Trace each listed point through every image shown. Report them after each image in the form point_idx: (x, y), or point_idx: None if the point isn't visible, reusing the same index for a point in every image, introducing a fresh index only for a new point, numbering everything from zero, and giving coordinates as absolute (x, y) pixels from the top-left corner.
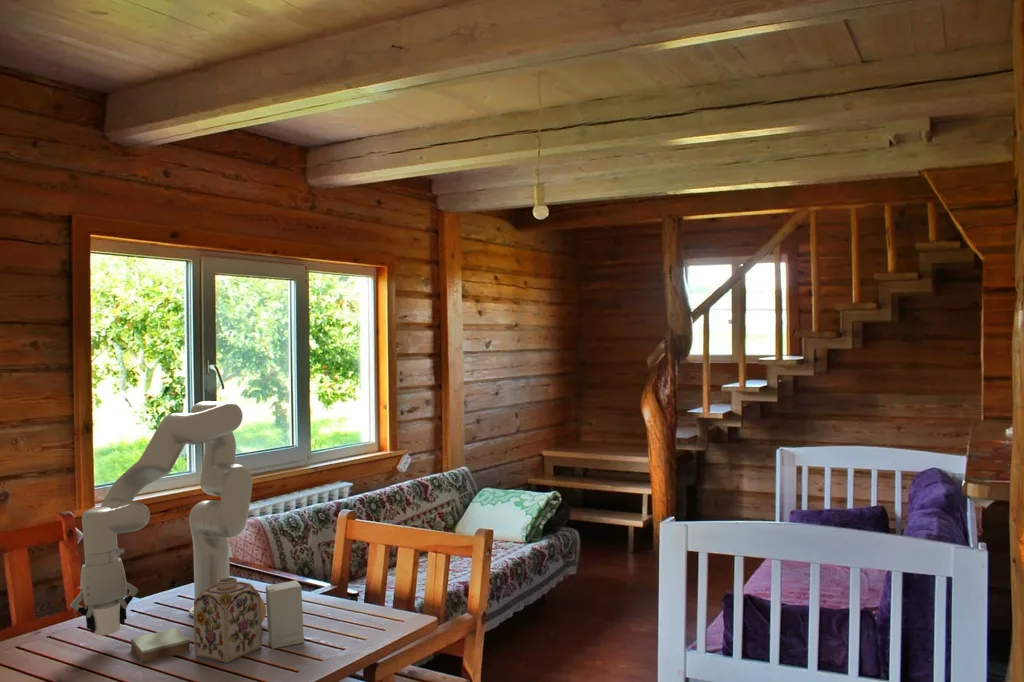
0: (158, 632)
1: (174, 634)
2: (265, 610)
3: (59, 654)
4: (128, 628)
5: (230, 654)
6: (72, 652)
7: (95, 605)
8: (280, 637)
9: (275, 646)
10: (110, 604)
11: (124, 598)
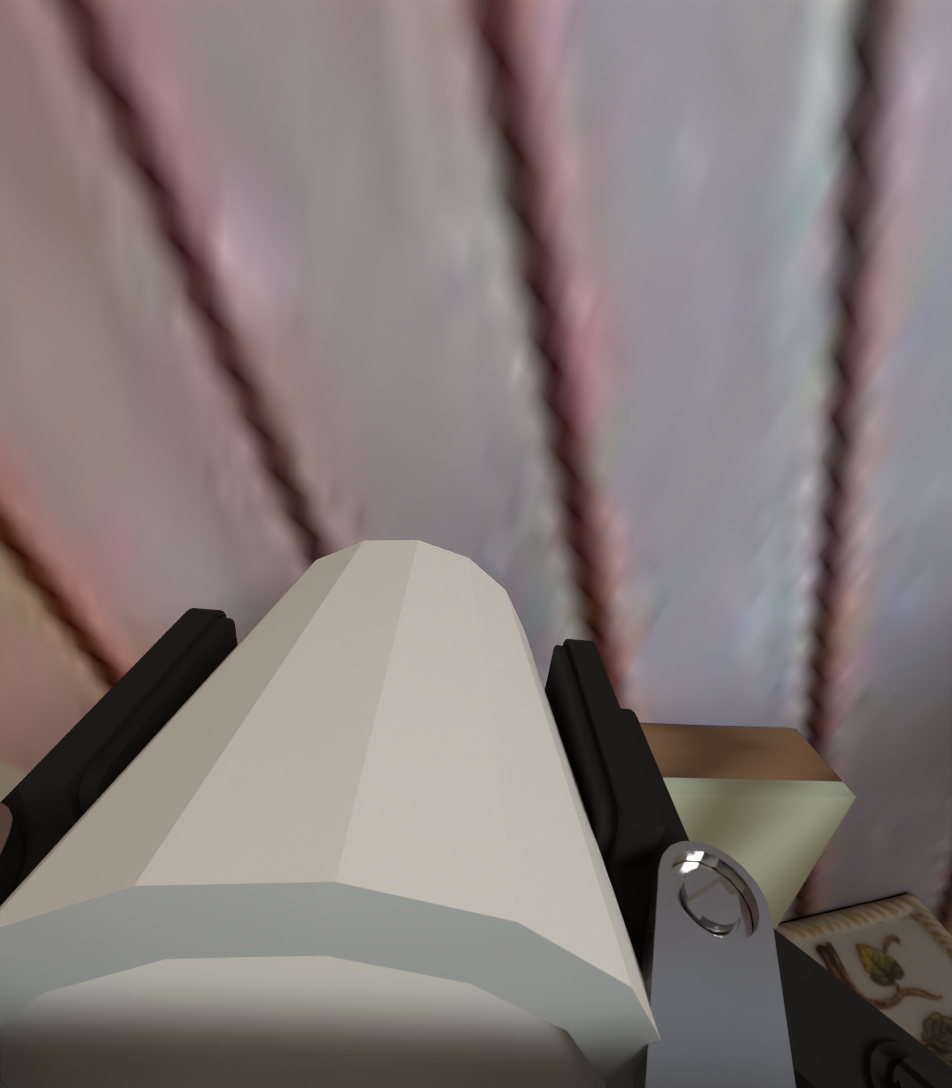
0: (725, 801)
1: (757, 883)
2: None
3: (14, 417)
4: (779, 113)
5: None
6: (134, 455)
7: (56, 1040)
8: None
9: None
10: None
11: (809, 1078)
